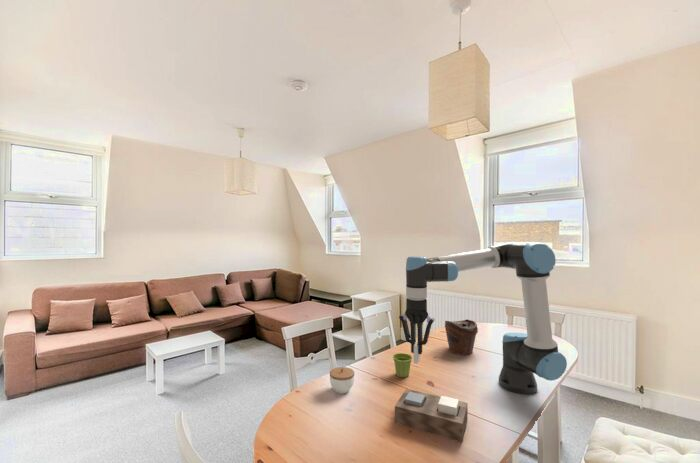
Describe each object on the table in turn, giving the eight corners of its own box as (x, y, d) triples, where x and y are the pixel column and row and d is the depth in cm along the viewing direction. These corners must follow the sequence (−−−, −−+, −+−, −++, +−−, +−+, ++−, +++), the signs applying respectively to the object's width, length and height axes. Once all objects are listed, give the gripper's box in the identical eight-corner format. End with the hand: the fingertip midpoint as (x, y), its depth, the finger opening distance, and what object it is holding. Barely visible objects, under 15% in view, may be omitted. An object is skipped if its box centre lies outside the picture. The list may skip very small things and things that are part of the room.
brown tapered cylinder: (481, 348, 184) (480, 317, 184) (474, 359, 167) (473, 326, 167) (450, 342, 193) (449, 314, 193) (441, 353, 176) (440, 321, 177)
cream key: (458, 410, 110) (458, 399, 110) (456, 419, 105) (456, 407, 105) (441, 406, 113) (441, 395, 113) (438, 415, 108) (438, 403, 108)
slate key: (425, 405, 116) (425, 395, 116) (421, 414, 110) (421, 402, 110) (409, 402, 118) (409, 391, 118) (404, 409, 113) (404, 398, 113)
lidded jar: (357, 386, 137) (357, 365, 137) (349, 398, 127) (349, 375, 127) (335, 382, 141) (335, 361, 141) (325, 393, 131) (325, 371, 131)
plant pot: (412, 380, 143) (412, 361, 143) (391, 378, 145) (391, 359, 145) (412, 371, 152) (412, 353, 152) (393, 369, 154) (393, 352, 154)
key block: (467, 419, 113) (467, 402, 113) (462, 442, 100) (462, 423, 100) (406, 403, 123) (406, 388, 123) (394, 422, 111) (394, 405, 111)
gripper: (436, 298, 115) (436, 361, 115) (402, 294, 121) (402, 355, 121) (431, 301, 108) (432, 369, 108) (396, 298, 114) (396, 362, 114)
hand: (416, 362), depth 114 cm, fingers closed
